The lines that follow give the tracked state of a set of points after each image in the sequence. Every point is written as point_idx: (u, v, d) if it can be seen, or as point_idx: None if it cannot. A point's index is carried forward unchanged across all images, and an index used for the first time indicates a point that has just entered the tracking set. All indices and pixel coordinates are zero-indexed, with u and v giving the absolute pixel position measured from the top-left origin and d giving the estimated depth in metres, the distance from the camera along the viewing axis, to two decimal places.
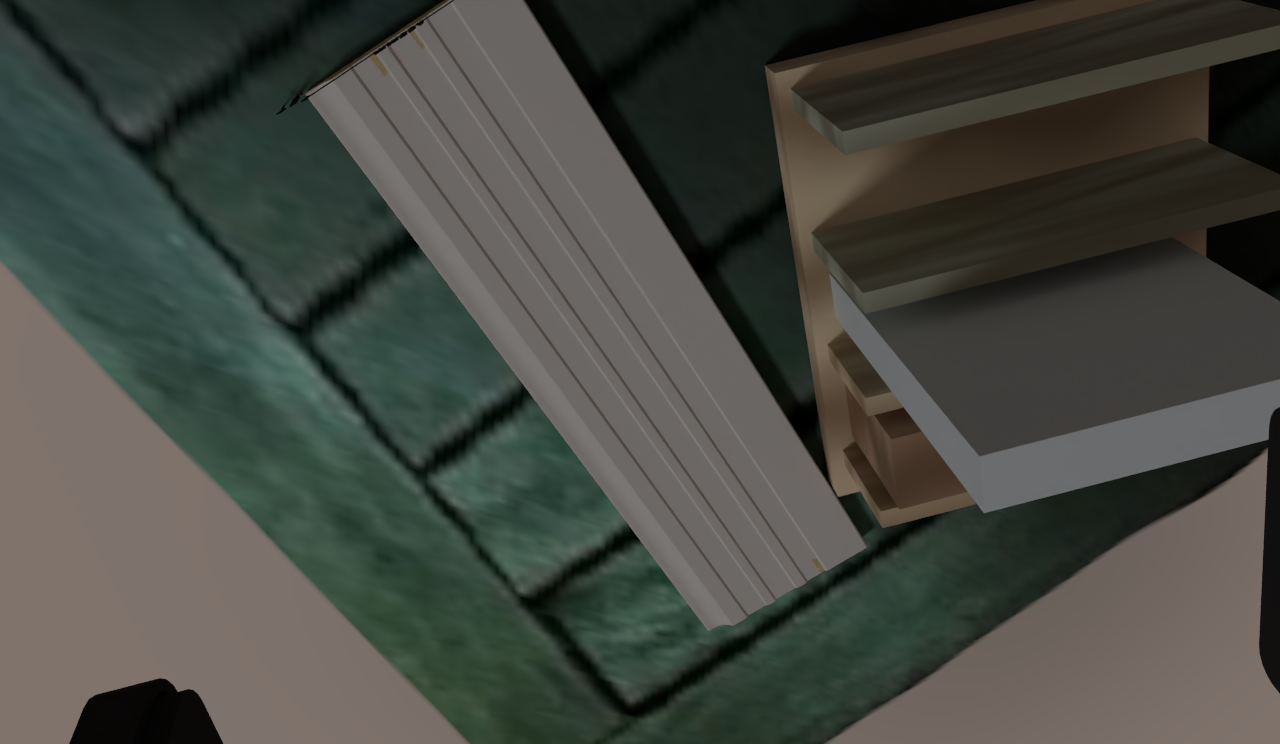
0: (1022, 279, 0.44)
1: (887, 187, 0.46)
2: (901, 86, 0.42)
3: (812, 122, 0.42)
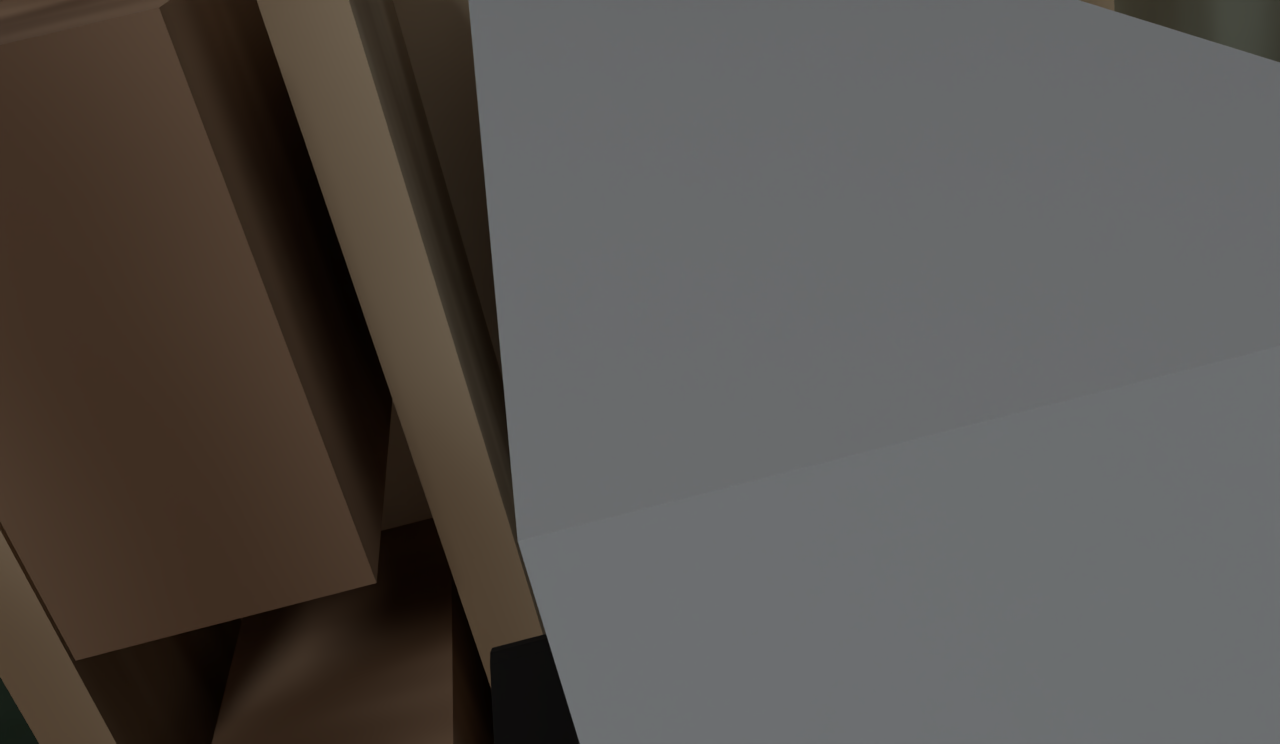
0: None
1: None
2: None
3: None
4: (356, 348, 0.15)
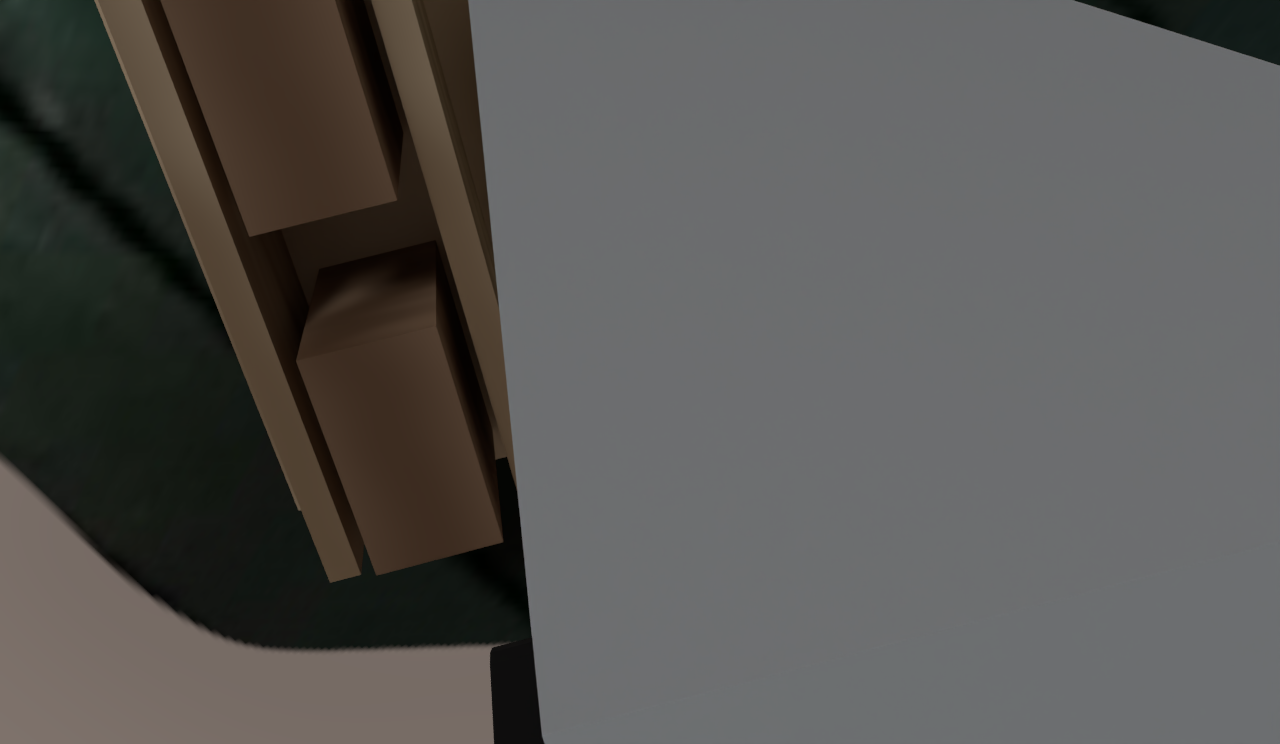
0: None
1: None
2: None
3: None
4: (383, 106, 0.28)
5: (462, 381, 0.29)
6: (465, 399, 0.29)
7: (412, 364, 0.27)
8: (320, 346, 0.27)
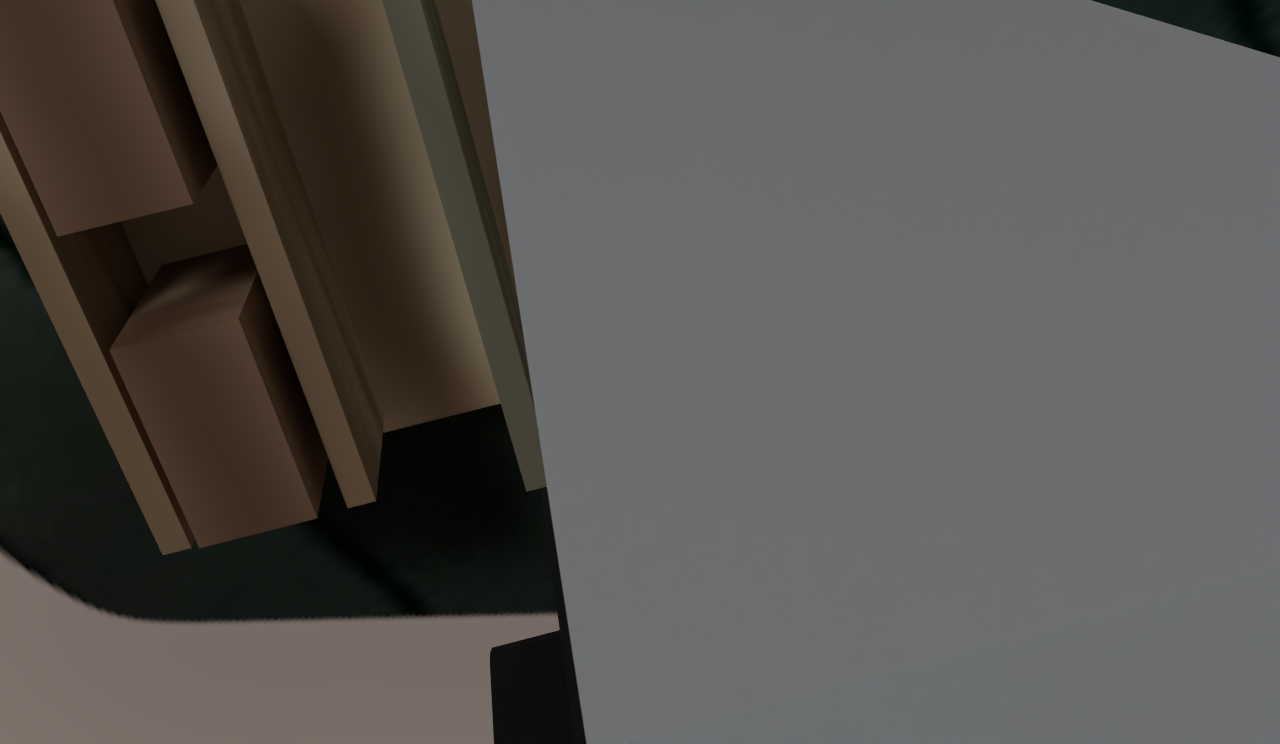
0: None
1: None
2: None
3: None
4: (197, 116, 0.30)
5: (280, 369, 0.32)
6: (281, 386, 0.31)
7: (218, 353, 0.29)
8: (134, 336, 0.29)
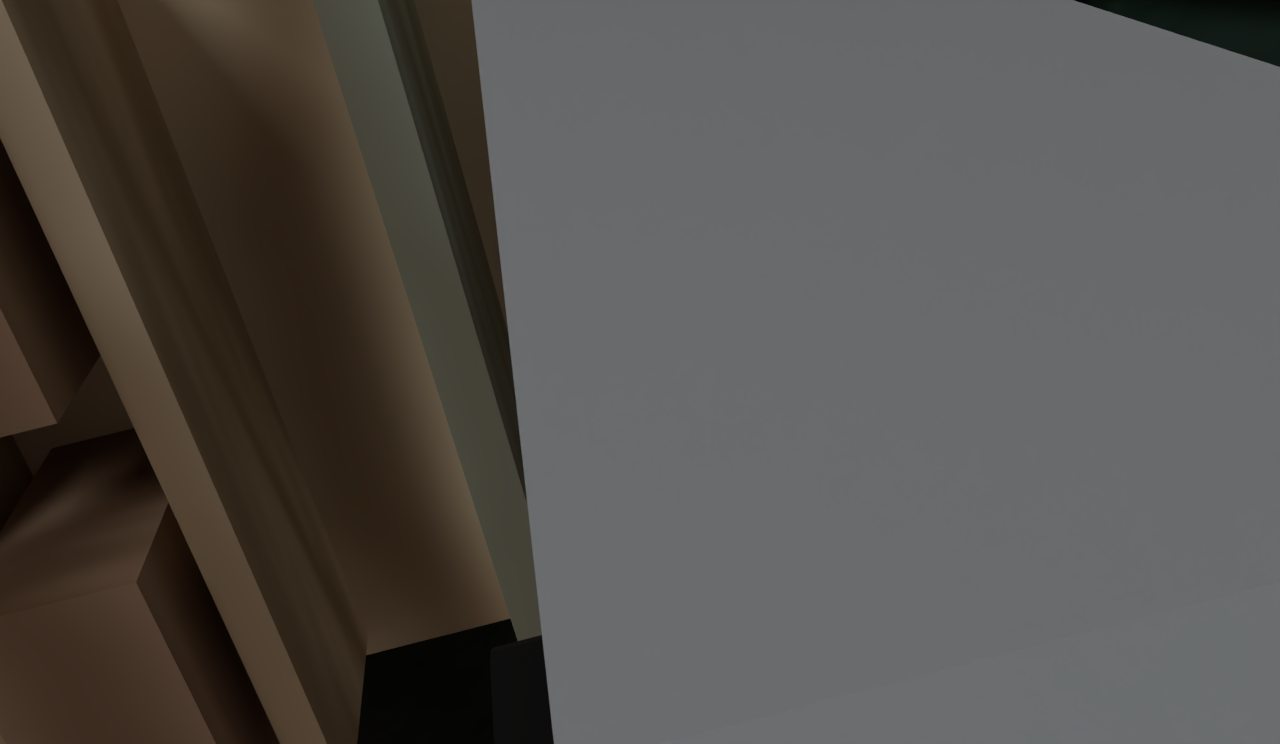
0: None
1: None
2: None
3: None
4: None
5: (211, 623, 0.22)
6: (210, 652, 0.21)
7: (108, 631, 0.19)
8: None
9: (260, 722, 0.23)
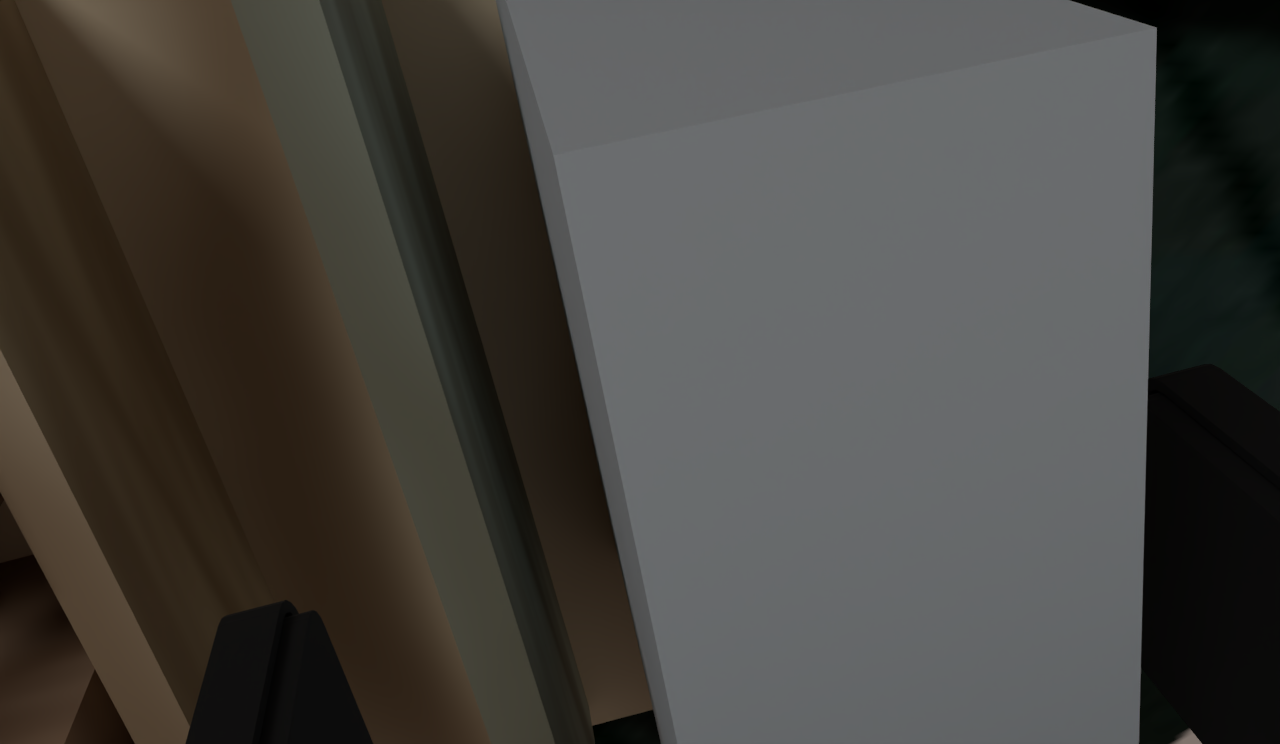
0: None
1: (475, 74, 0.18)
2: None
3: None
4: None
5: None
6: None
7: None
8: None
9: None
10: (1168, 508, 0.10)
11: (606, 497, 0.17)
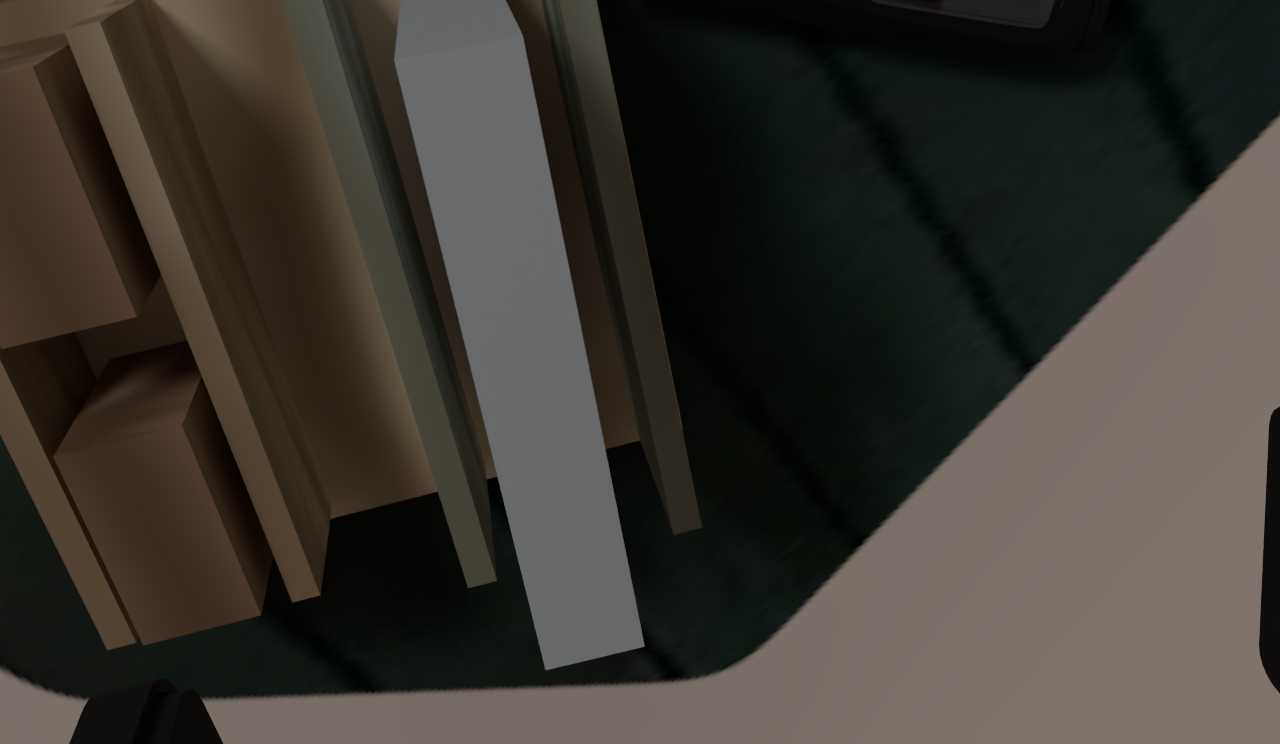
0: None
1: None
2: None
3: None
4: None
5: (225, 468, 0.32)
6: (225, 485, 0.32)
7: (162, 459, 0.30)
8: (78, 442, 0.30)
9: (257, 543, 0.34)
10: None
11: None
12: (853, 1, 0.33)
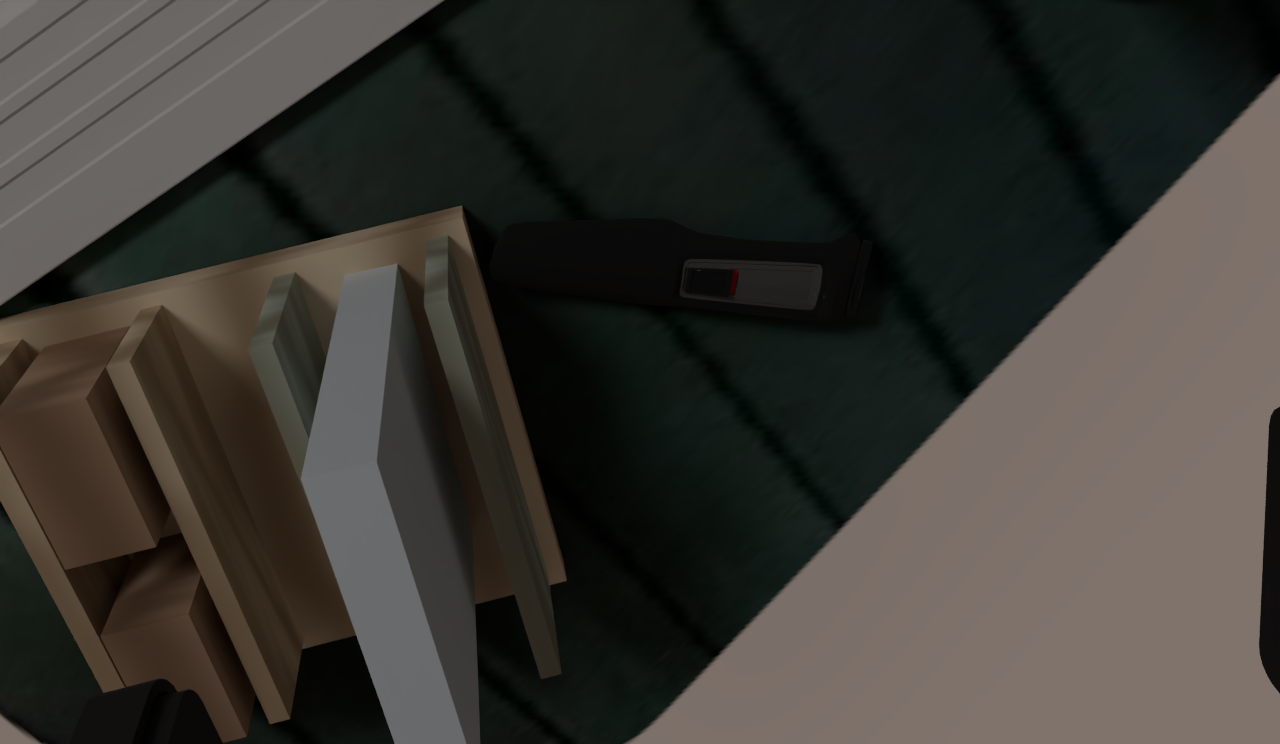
0: (435, 460, 0.43)
1: None
2: (471, 344, 0.43)
3: (430, 263, 0.42)
4: None
5: (221, 632, 0.45)
6: (220, 645, 0.45)
7: (175, 636, 0.43)
8: (117, 624, 0.43)
9: (245, 681, 0.47)
10: None
11: None
12: (667, 297, 0.46)
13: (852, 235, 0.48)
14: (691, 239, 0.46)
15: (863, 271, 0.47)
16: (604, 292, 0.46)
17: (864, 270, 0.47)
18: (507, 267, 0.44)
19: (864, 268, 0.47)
